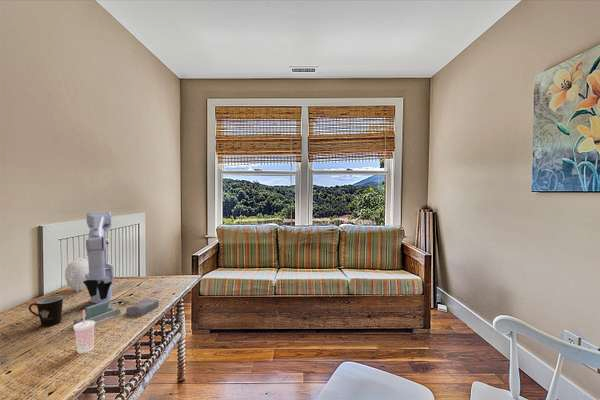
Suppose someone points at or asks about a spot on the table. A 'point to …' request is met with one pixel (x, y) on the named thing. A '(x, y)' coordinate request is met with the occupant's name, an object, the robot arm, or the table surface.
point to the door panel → (97, 309)
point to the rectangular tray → (101, 316)
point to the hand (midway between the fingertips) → (98, 297)
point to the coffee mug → (49, 310)
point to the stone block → (142, 307)
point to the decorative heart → (77, 273)
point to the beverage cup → (84, 335)
